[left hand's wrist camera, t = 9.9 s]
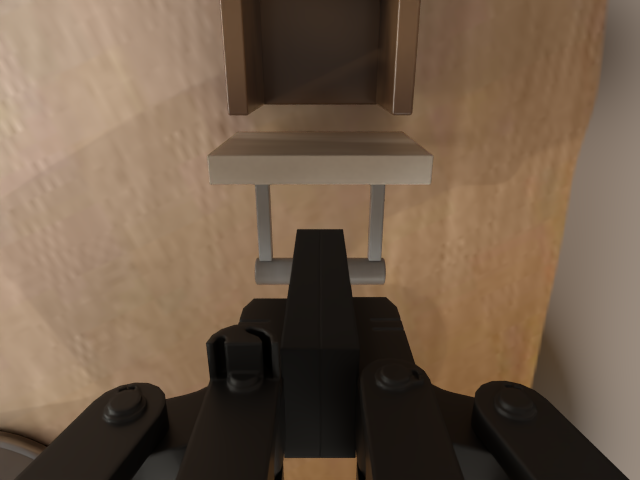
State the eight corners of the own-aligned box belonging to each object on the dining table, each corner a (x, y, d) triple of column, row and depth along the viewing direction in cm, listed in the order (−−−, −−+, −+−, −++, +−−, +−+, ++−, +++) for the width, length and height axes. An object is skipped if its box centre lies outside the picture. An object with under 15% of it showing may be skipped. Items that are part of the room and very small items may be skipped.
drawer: (395, 245, 26) (419, 302, 20) (244, 245, 26) (220, 302, 20) (427, -233, 18) (486, -395, 12) (212, -233, 18) (154, -395, 12)
